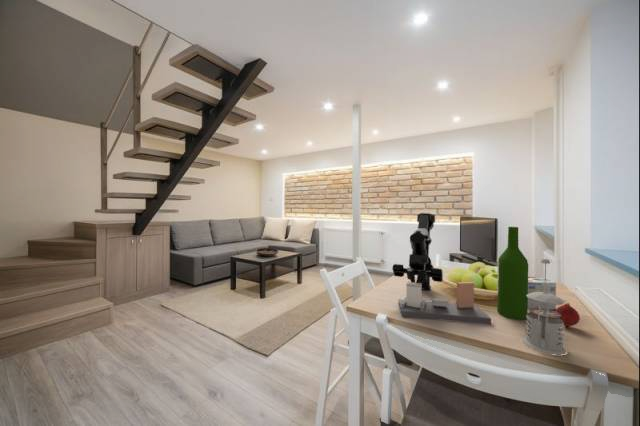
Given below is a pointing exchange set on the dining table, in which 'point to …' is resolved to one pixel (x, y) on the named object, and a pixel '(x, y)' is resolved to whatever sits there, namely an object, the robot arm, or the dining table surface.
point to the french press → (544, 323)
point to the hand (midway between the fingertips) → (414, 291)
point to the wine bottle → (512, 280)
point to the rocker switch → (440, 302)
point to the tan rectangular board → (465, 295)
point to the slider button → (414, 294)
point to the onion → (568, 315)
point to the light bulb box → (539, 286)
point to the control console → (444, 312)
